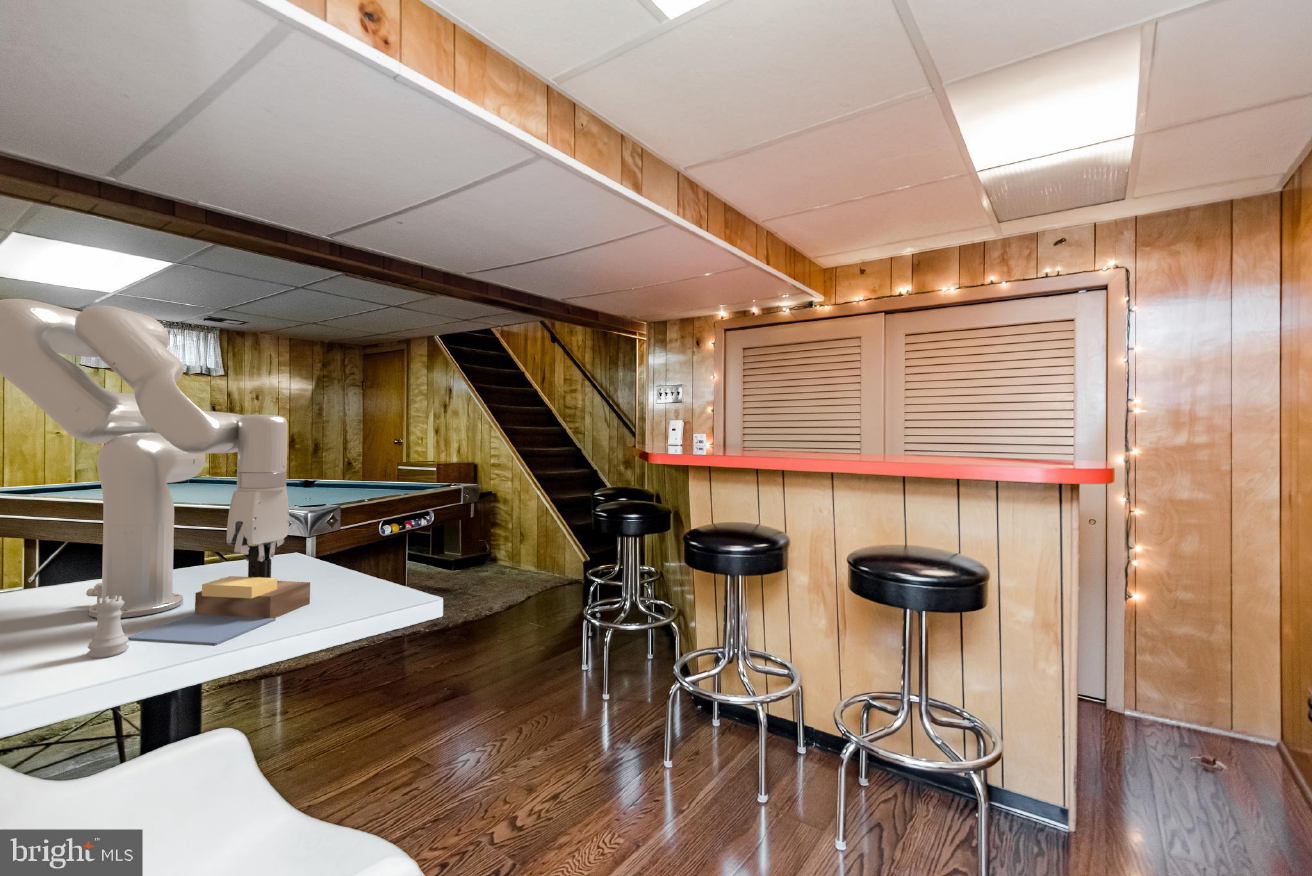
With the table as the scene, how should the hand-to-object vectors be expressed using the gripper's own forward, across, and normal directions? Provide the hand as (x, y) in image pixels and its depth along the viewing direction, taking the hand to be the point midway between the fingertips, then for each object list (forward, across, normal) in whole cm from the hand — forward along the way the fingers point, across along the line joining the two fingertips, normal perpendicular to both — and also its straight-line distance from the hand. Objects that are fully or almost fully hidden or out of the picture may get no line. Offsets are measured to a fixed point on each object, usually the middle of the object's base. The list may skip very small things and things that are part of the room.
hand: (259, 581), depth 106 cm
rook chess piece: (+5, +23, -4) cm, 24 cm away
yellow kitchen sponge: (+1, +5, 0) cm, 5 cm away
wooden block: (+5, +1, 0) cm, 5 cm away
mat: (+5, +12, 0) cm, 13 cm away
